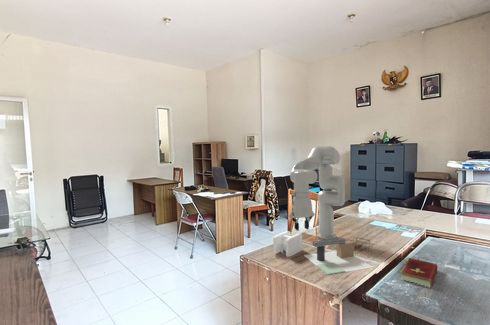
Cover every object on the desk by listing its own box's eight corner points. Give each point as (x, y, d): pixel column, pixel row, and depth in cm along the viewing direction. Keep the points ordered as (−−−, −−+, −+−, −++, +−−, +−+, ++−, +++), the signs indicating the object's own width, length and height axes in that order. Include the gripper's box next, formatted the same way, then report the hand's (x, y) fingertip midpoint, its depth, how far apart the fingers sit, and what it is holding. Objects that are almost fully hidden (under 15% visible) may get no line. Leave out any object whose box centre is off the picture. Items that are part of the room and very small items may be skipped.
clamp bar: (312, 244, 145) (312, 241, 145) (341, 241, 150) (341, 237, 150) (315, 246, 142) (315, 243, 142) (345, 243, 147) (345, 239, 147)
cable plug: (315, 258, 147) (315, 246, 146) (322, 257, 148) (322, 245, 147) (319, 261, 143) (319, 248, 142) (326, 260, 144) (326, 247, 143)
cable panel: (303, 257, 151) (303, 241, 151) (344, 252, 158) (344, 236, 157) (327, 277, 128) (327, 258, 128) (373, 270, 135) (373, 252, 134)
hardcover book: (437, 271, 133) (437, 263, 132) (431, 289, 117) (431, 280, 117) (409, 265, 141) (409, 257, 140) (400, 280, 125) (400, 271, 125)
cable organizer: (287, 260, 149) (287, 239, 148) (272, 255, 156) (272, 235, 155) (302, 252, 159) (302, 233, 158) (288, 248, 167) (288, 229, 166)
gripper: (289, 197, 134) (289, 233, 135) (319, 195, 139) (320, 229, 140) (283, 194, 142) (283, 228, 143) (312, 192, 146) (312, 225, 147)
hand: (301, 229), depth 141 cm, fingers open, 4 cm apart
